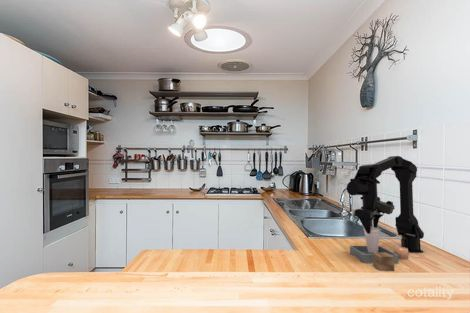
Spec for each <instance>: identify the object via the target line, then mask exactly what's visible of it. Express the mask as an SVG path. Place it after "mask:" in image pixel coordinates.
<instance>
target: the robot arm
mask: <svg viewBox="0 0 470 313" xmlns="http://www.w3.org/2000/svg"><path fill="white" fill-rule="evenodd" d="M389 169H390V170H392V172H394V176H395V178H396V179H397V181H398V182H399V207H400V208H399V210H400V213H399V214H398V216H396V217H395V228H396V232H397V235H398V236H401V238H400V247H405V248H408V253H424V250H422V249H421V240H422V239H423V238H424V235H425V232H424V231H423V230H422V229H421V227H420V225H419V220H418V219H417V217H416V216H415V215H414V198H413V196H414V195H413V194H414V193H413V189H414V188H413V182H414V180H415V179H416V178H417V173H418V167H417V165H416V164H414V163H413V162H412V161H410V160H408V159H406V158H403V157H402V156H399V155H393V156H391V155H390V156H388V157H387V158H384V159H382V160H379V161H377V162H375V163H370V164H363V165H359V166H358V169H357V172H356V174H355V176H354V178H350V180H349V182H348V183H347V185H346V187H345V188H346V191H347V193H348V194H349V196H360V200H362V202H361V203H362V206H360V208H356V209H355V210H354V211H353V215H354V217H356V218H358V219H359V221H360V223H361V224H362V226H363V228H365V230H366V232H367V233H368V234H370V231H371V227H372V220H373V224H374V227H376V228H378V225H379V221H380V218H382V217H383V216H384V214H386V215H391V214H393V213H394V210H395V209H396V208H395V205H394V202H393V201H391V200H387V201H382V200H381V198H380V197H379V196H378V185H379V184H381V181H380V180H378V178H379V177H380V176H381V175H382V173H383V172H385V171H387V170H389Z"/></svg>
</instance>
